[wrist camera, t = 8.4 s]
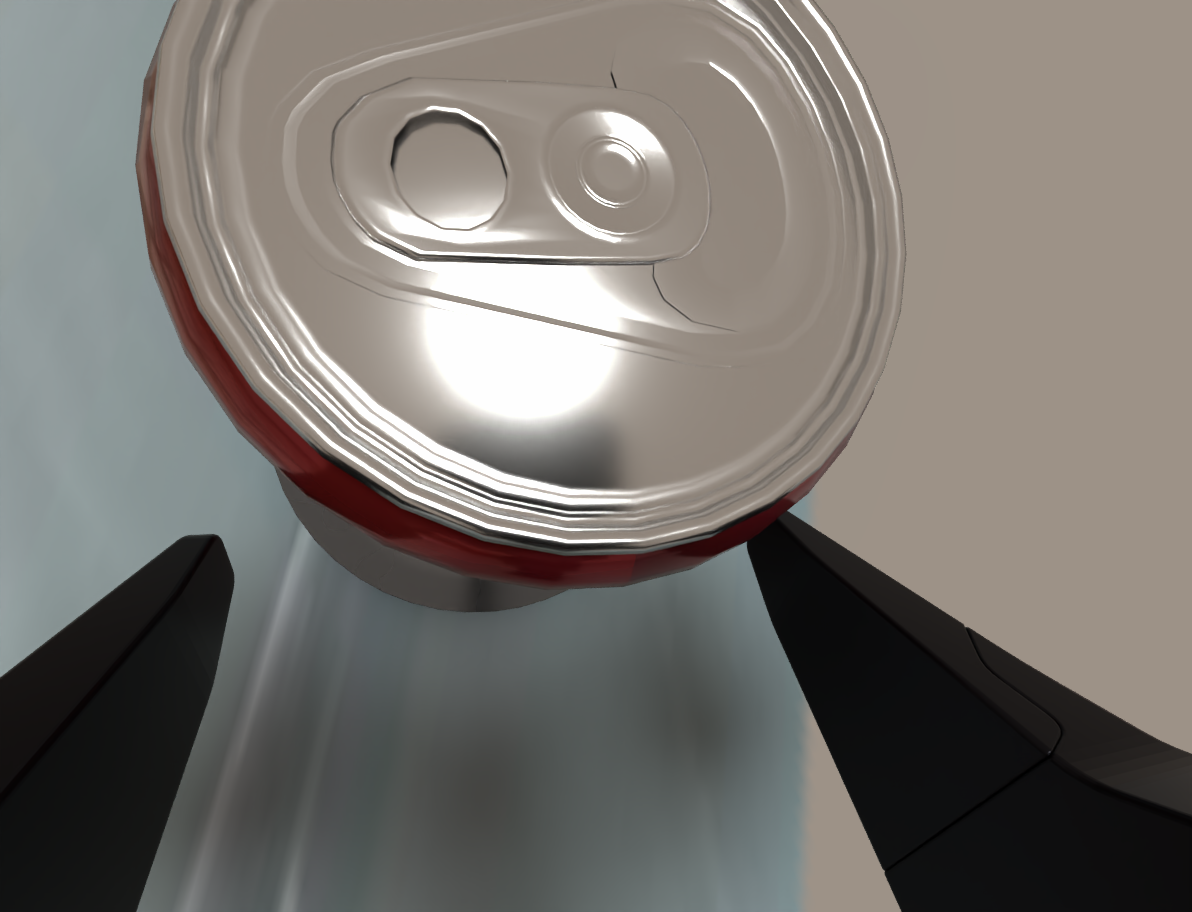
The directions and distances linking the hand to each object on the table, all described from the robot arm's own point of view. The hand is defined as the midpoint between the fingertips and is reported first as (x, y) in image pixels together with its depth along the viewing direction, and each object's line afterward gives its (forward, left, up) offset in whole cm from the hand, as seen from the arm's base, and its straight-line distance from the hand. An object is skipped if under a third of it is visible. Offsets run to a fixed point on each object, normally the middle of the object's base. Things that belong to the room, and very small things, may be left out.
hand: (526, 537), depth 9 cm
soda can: (+3, -1, -7) cm, 8 cm away
